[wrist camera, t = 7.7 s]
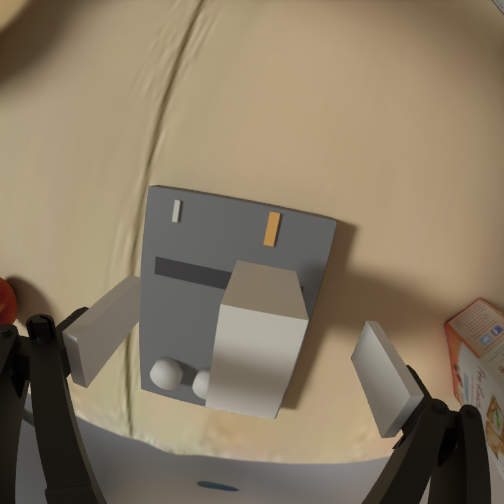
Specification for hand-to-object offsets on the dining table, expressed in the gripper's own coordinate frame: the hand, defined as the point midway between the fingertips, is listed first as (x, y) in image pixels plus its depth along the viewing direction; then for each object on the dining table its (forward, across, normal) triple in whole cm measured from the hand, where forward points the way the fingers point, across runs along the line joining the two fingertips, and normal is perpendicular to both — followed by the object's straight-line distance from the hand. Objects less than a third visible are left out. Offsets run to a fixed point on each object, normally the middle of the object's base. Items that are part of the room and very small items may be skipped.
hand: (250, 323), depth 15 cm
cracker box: (+8, +26, -5) cm, 28 cm away
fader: (+6, 0, 0) cm, 6 cm away
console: (+8, -2, -4) cm, 9 cm away
